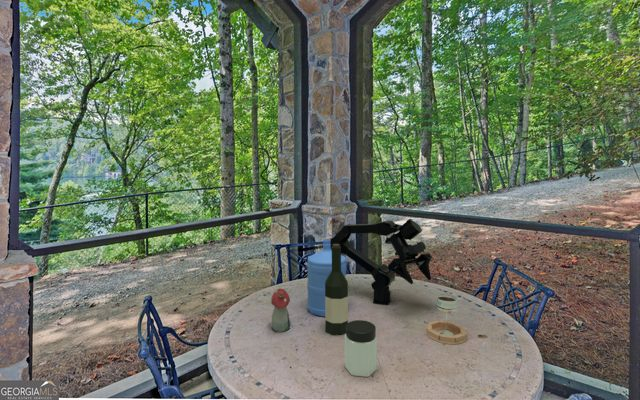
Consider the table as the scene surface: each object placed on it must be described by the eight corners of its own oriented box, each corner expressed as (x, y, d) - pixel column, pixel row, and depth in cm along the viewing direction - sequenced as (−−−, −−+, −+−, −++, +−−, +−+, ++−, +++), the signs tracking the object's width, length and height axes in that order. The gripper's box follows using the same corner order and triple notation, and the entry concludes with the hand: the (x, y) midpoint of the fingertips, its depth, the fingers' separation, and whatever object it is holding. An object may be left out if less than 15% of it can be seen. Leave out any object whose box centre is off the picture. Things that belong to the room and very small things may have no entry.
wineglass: (459, 338, 106) (459, 302, 105) (437, 336, 107) (437, 300, 106) (454, 328, 112) (455, 294, 111) (434, 327, 114) (434, 293, 113)
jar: (357, 356, 97) (357, 316, 96) (381, 366, 92) (381, 324, 91) (339, 369, 90) (339, 327, 89) (364, 381, 85) (364, 337, 84)
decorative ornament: (286, 334, 110) (286, 291, 109) (268, 333, 111) (267, 290, 110) (292, 322, 119) (292, 282, 118) (275, 321, 120) (274, 281, 119)
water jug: (301, 313, 127) (300, 242, 125) (316, 299, 141) (316, 235, 139) (339, 320, 121) (339, 245, 119) (351, 304, 135) (351, 237, 133)
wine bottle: (351, 326, 115) (351, 243, 113) (343, 337, 108) (343, 248, 106) (330, 322, 119) (329, 241, 117) (320, 332, 111) (320, 246, 109)
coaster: (425, 341, 105) (425, 335, 105) (425, 323, 118) (425, 318, 117) (469, 347, 101) (469, 340, 101) (464, 328, 114) (464, 322, 114)
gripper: (393, 237, 121) (414, 274, 112) (429, 232, 130) (451, 266, 121) (379, 254, 129) (398, 289, 120) (414, 248, 138) (434, 281, 129)
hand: (421, 281), depth 122 cm, fingers open, 9 cm apart
